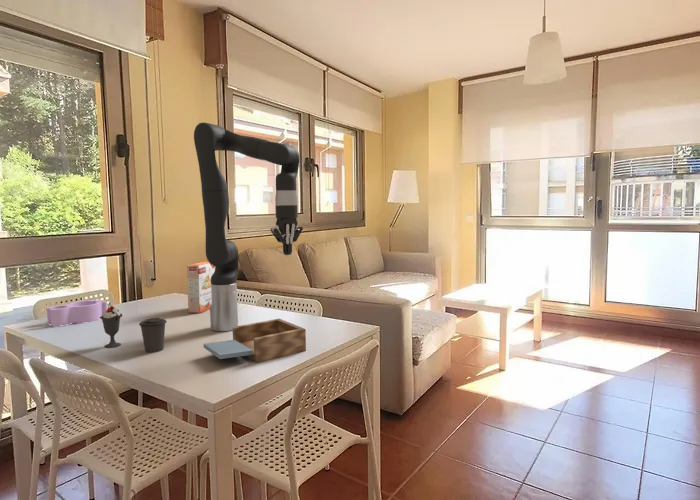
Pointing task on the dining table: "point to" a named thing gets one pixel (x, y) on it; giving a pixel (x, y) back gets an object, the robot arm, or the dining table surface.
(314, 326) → the dining table surface
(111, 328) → the sundae
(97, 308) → the purple double bowl
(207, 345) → the flat rectangular panel
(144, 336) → the coffee cup
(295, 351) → the open wooden box
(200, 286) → the cracker box
